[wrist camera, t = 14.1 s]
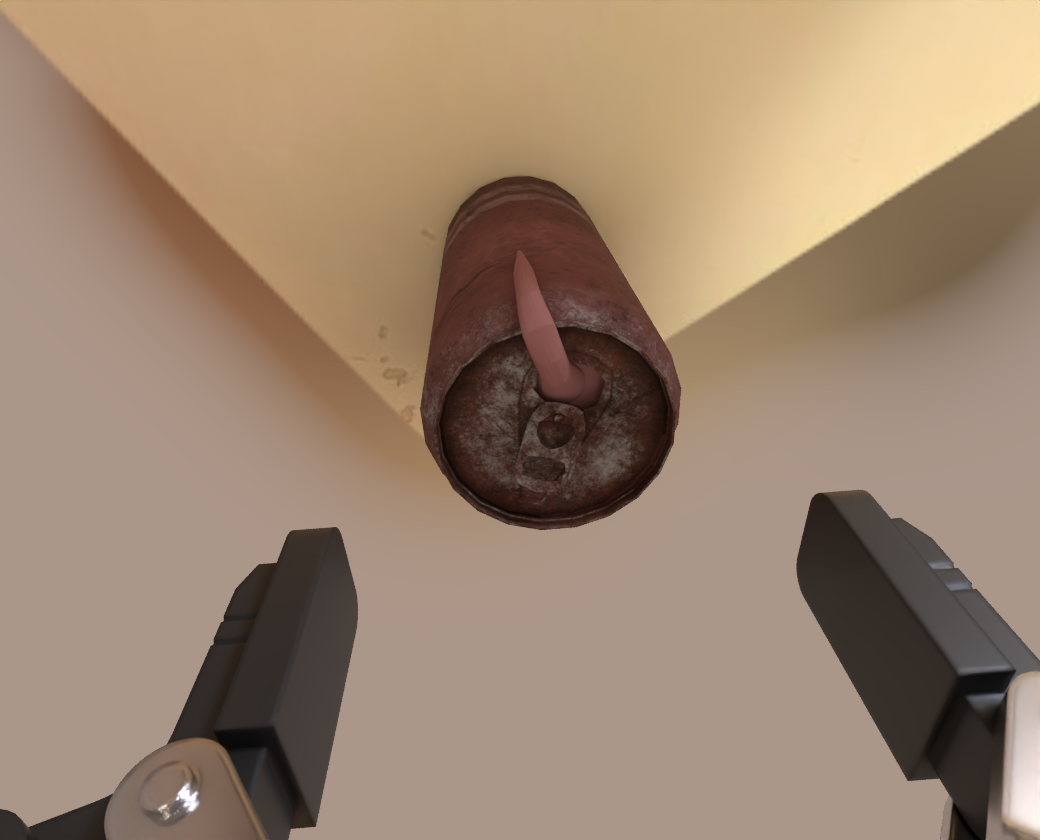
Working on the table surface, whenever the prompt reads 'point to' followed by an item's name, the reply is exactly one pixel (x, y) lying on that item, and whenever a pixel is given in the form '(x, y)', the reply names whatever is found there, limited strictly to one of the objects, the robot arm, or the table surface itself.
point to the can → (543, 364)
